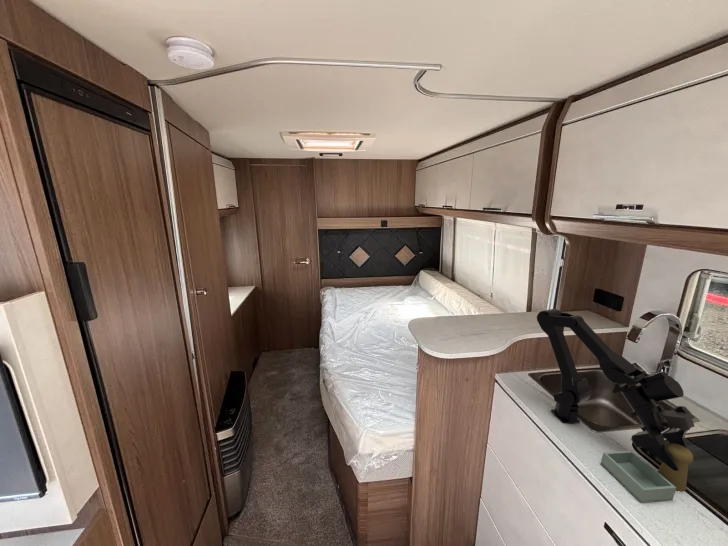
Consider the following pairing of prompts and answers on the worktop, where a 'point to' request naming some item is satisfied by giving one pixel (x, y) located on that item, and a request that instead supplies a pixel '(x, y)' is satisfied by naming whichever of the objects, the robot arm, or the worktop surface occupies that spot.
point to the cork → (682, 460)
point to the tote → (638, 476)
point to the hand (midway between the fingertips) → (683, 465)
